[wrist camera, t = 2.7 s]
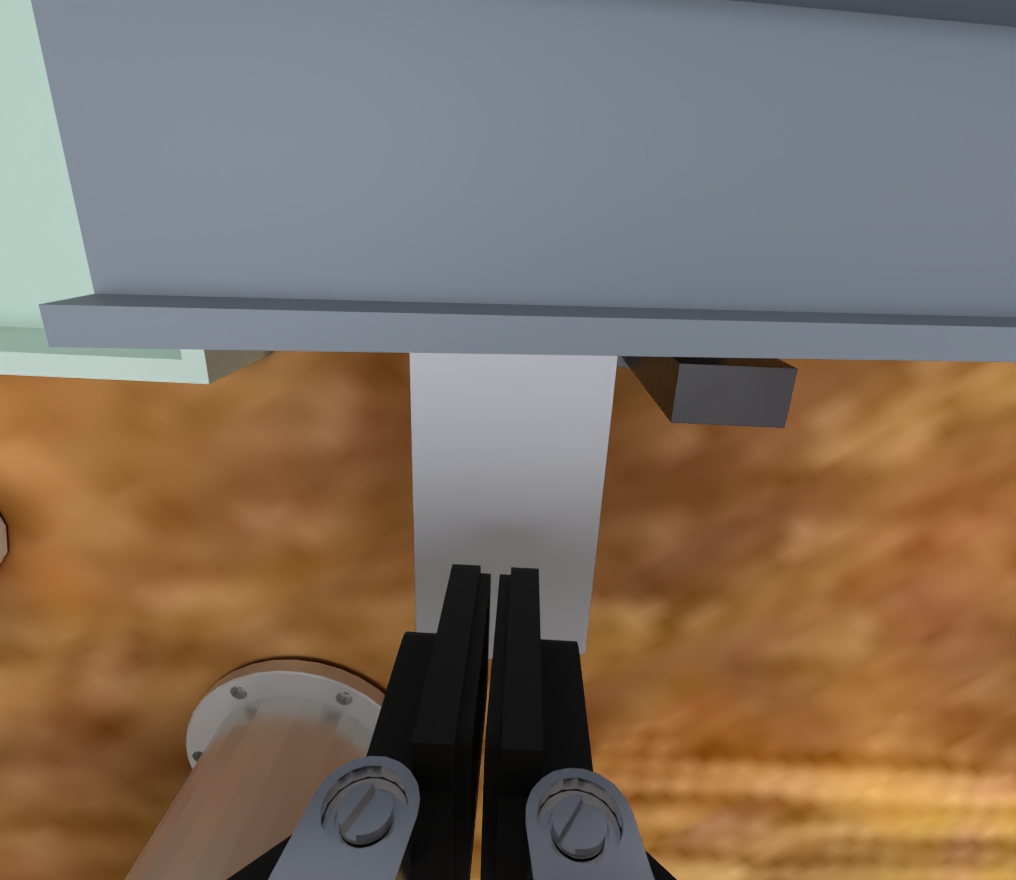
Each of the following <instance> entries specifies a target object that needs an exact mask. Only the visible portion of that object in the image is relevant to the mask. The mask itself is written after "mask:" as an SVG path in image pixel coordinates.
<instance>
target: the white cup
mask: <svg viewBox="0 0 1016 880" xmlns="http://www.w3.org/2000/svg"><path fill="white" fill-rule="evenodd" d="M7 551H8V550H7V533H6V526H5V524H4V522H3V520H2V518H1V516H0V564H1V562H2V560H3V559H4V557H5V556H6V554H7Z"/></svg>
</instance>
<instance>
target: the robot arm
mask: <svg viewBox="0 0 1016 880" xmlns="http://www.w3.org/2000/svg"><path fill="white" fill-rule="evenodd" d="M490 594H491V574H489V573H481V566H480V565H463V564H453V565H452V568H451V572H450V576H449V581H448V585H447V590H446V594H445V598H444V603H443V607H442V611H441V616H440V620H439V624H438V629H437V633H422V632H406V633H405V634H404V636H403V639H402V642H401V645H400V648H399V651H398V655H397V658H396V661H395V664H394V668H393V671H392V674H391V677H390V681H389V684H388V687H387V690H386V694H385V695H384V694H383V693H382V692H381V691H380V690H379V689H377V688H376V687H374V686H372V685H371V684H369V683H368V682H366V681H365V680H363V679H362V678H360V677H358V676H355V675H353V674H351V673H349V672H346V671H344V670H342V669H339V668H336V667H332V666H329V665H325V664H322V663H318V662H310V661H302V660H271V661H266V662H260V663H255V664H251V665H248V666H246V667H243V668H240V669H238V670H235V671H233V672H231V673H230V674H228V675H227V676H225V677H223V678H222V679H220V680H219V681H217V682H216V683H215V684H214V686H213V687H212V688H211V689H210V690H209V691H208V692H207V693H206V694H205V695H204V697H203V698H202V700H201V701H200V703H199V704H198V706H197V707H196V709H195V710H194V712H193V714H192V716H191V719H190V721H189V724H188V726H187V734H186V750H187V757H188V760H189V762H190V765H191V767H192V771H191V773H190V774H189V776H188V778H187V779H186V781H185V783H184V784H183V786H182V787H181V789H180V791H179V792H178V794H177V795H176V797H175V799H174V800H173V802H172V804H171V805H170V807H169V808H168V810H167V812H166V813H165V815H164V816H163V818H162V820H161V821H160V823H159V825H158V826H157V828H156V829H155V831H154V833H153V834H152V836H151V837H150V839H149V841H148V842H147V844H146V846H145V847H144V849H143V850H142V852H141V854H140V855H139V857H138V858H137V860H136V862H135V863H134V865H133V867H132V868H131V870H130V871H129V873H128V875H127V876H126V878H125V879H124V880H470V874H471V863H472V852H473V841H474V831H475V820H476V809H477V798H478V787H479V776H480V765H481V754H482V743H483V732H484V722H485V711H486V700H487V684H488V655H489V625H490ZM481 880H676V879H675V878H674V877H673V876H672V875H671V874H670V873H669V872H668V871H667V870H666V869H665V868H664V867H662V866H661V865H660V864H659V863H658V862H657V861H656V860H655V859H654V858H653V857H652V856H651V855H650V854H649V853H647V852H646V851H645V849H644V846H643V843H642V840H641V837H640V833H639V830H638V827H637V824H636V821H635V818H634V815H633V812H632V810H631V808H630V806H629V804H628V802H627V800H626V798H625V796H624V795H623V794H622V793H621V792H620V791H619V790H618V788H617V787H616V786H615V785H614V784H613V783H611V782H610V781H608V780H607V779H605V778H604V777H603V776H601V775H600V774H597V773H594V772H593V767H592V758H591V750H590V741H589V732H588V724H587V715H586V706H585V697H584V689H583V680H582V671H581V663H580V654H579V647H578V643H577V641H563V640H546V639H541V633H540V593H539V569H537V568H518V567H511V575H507V574H500V577H499V588H498V599H497V611H496V622H495V634H494V645H493V657H492V668H491V680H490V691H489V703H488V714H487V726H486V739H485V757H484V786H483V818H482V849H481Z"/></svg>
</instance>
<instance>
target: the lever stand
mask: <svg viewBox="0 0 1016 880" xmlns="http://www.w3.org/2000/svg"><path fill="white" fill-rule="evenodd" d="M617 367H630V369H631V370H632V371H633V373H634V374H635V375H636V377H637V378H638V379H639V381H640V382H641V383H642V385H643V386H644V387H645V389H646V390H647V391H648V393H649V394H650V395H651V397H652V398H653V399H654V401H655V402H656V403H657V405H658V406H659V407H660V409H661V410H662V411H663V413H664V414H665V415H666V417H667V418H668V419H669V420H670V422H671V423H690V424H712V425H733V426H755V427H776V428H784V427H785V423H786V418H787V414H788V410H789V405H790V401H791V396H792V392H793V387H794V383H795V379H796V374H797V370H798V369H797V368H795V367H793V366H791V365H789V364H787V363H785V362H783V361H781V360H779V359H777V358H717V357H652V356H618V358H617Z"/></svg>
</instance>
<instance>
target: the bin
mask: <svg viewBox="0 0 1016 880" xmlns="http://www.w3.org/2000/svg"><path fill="white" fill-rule="evenodd" d="M90 294H94V289H93V285H92V280H91V276H90V271H89V266H88V262H87V257H86V253H85V248H84V243H83V239H82V234H81V229H80V225H79V220H78V216H77V211H76V206H75V202H74V197H73V193H72V188H71V183H70V179H69V174H68V170H67V165H66V160H65V156H64V151H63V147H62V142H61V137H60V133H59V128H58V123H57V119H56V114H55V110H54V105H53V100H52V96H51V91H50V87H49V82H48V77H47V73H46V68H45V64H44V59H43V54H42V50H41V45H40V41H39V36H38V31H37V27H36V22H35V17H34V13H33V8H32V4H31V0H0V374H5V375H27V376H48V377H70V378H92V379H113V380H135V381H157V382H178V383H200V384H210V383H212V382H214V381H216V380H218V379H220V378H222V377H225V376H227V375H229V374H231V373H233V372H235V371H237V370H239V369H241V368H243V367H245V366H247V365H249V364H251V363H253V362H256V361H258V360H260V359H262V358H264V357H266V356H268V355H270V354H272V352H271V351H264V350H199V349H134V348H69V347H49V344H48V341H47V337H46V333H45V329H44V325H43V321H42V317H41V313H40V309H39V305H38V304H44V303H49V302H54V301H59V300H64V299H70V298H75V297H80V296H85V295H90Z"/></svg>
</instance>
